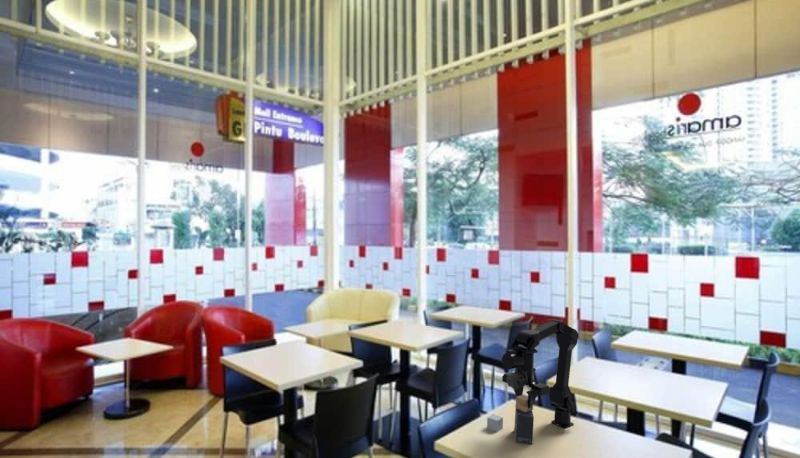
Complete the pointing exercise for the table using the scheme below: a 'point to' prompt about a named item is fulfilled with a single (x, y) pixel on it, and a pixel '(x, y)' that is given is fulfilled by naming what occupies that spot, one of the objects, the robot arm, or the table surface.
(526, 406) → the walnut cube
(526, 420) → the small box
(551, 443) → the table surface
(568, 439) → the table surface
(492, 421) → the slate block
